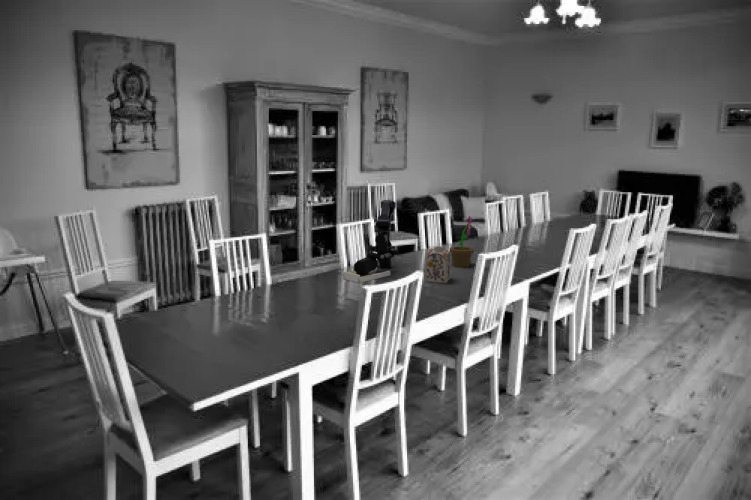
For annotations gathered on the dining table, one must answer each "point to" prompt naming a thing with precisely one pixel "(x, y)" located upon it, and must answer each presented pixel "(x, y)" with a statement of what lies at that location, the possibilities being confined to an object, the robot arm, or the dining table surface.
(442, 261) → the decorative jar
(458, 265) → the flowerpot
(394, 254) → the robot arm
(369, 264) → the security camera
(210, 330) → the dining table surface
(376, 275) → the tester cradle
